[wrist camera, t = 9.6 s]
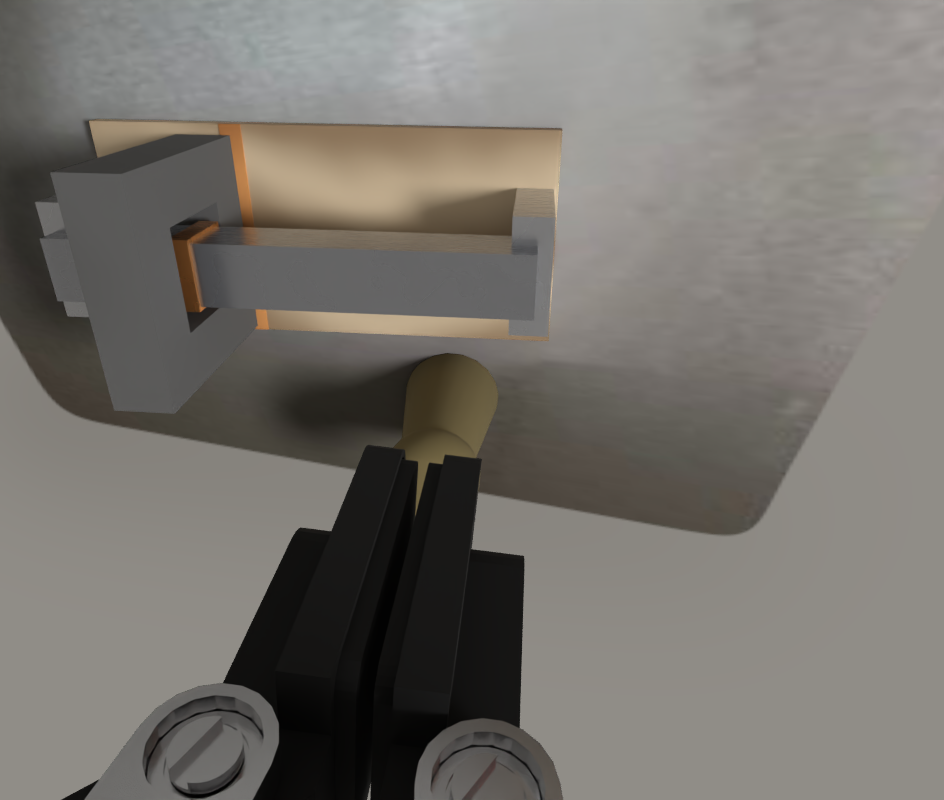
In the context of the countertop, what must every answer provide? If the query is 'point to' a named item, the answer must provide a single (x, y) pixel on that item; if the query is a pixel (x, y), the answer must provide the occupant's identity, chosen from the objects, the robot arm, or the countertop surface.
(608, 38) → the countertop surface
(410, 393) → the cork
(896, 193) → the countertop surface
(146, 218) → the slotted grey block
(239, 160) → the board
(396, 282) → the grey blocky piece
